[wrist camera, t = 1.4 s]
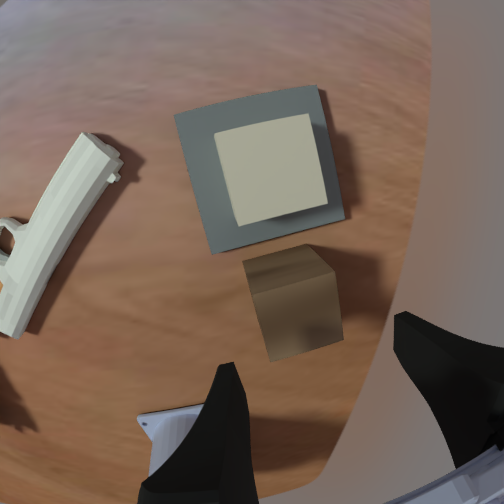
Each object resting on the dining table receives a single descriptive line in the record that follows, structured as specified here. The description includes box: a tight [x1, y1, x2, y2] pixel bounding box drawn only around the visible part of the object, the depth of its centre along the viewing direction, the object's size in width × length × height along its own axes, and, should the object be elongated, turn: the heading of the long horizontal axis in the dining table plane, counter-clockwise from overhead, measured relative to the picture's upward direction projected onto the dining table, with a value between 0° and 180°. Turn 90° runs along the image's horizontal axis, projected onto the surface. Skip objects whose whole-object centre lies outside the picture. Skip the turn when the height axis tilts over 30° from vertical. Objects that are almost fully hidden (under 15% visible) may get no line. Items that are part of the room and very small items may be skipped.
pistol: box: [0, 132, 124, 339], centre depth 18 cm, size 2×20×11 cm
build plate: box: [174, 85, 345, 254], centre depth 18 cm, size 9×9×4 cm
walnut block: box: [242, 244, 344, 362], centre depth 20 cm, size 4×4×6 cm
